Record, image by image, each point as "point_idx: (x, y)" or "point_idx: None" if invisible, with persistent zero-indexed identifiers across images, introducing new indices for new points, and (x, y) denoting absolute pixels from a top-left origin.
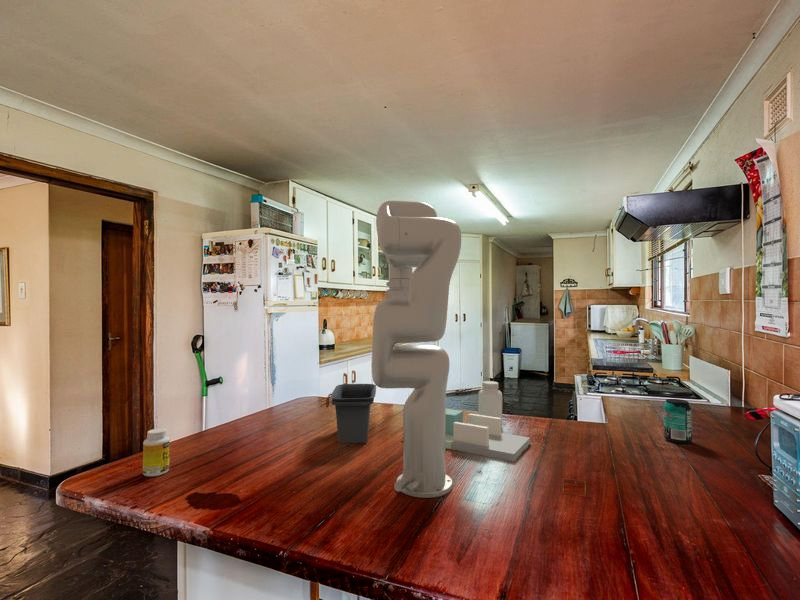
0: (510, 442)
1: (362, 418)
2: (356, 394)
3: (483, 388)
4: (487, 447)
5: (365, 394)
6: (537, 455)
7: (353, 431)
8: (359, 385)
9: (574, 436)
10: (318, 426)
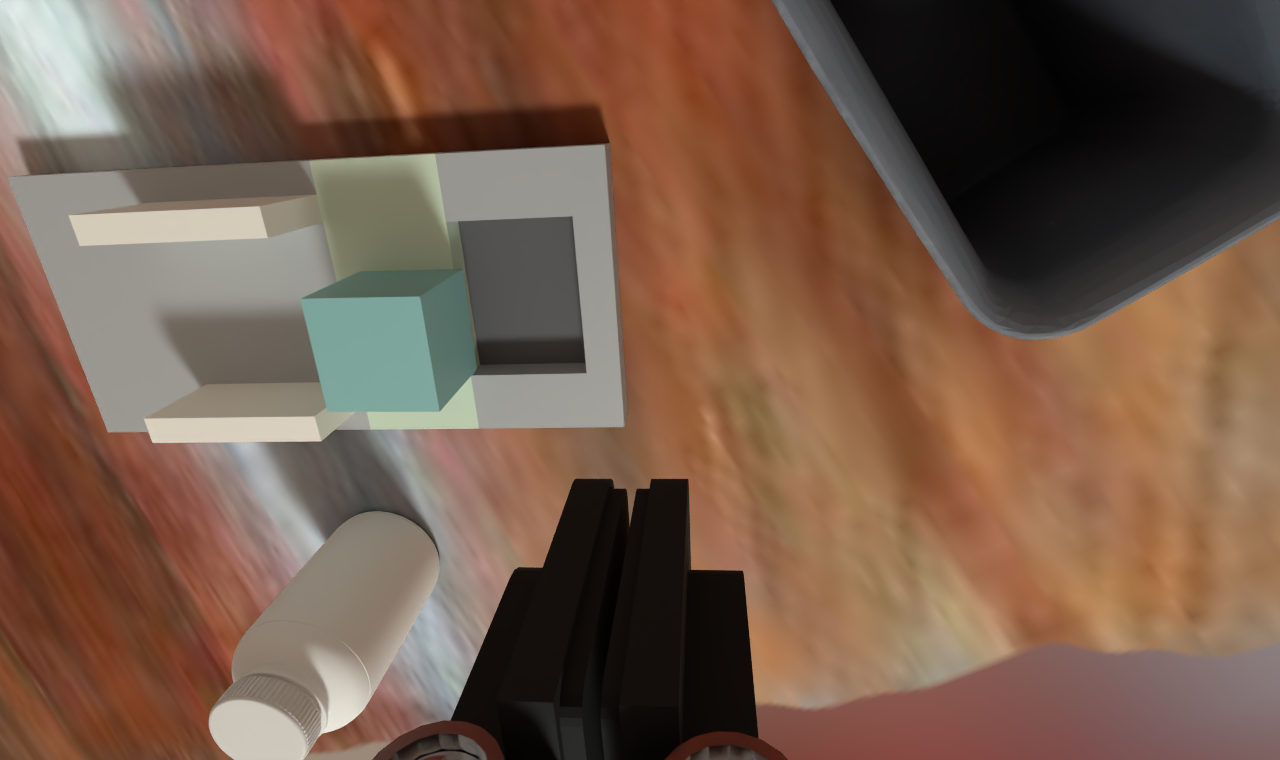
0: (118, 322)
1: None
2: (1118, 211)
3: (299, 678)
4: (139, 193)
5: (1038, 259)
6: (34, 308)
7: None
8: (1151, 264)
9: (83, 594)
10: None
